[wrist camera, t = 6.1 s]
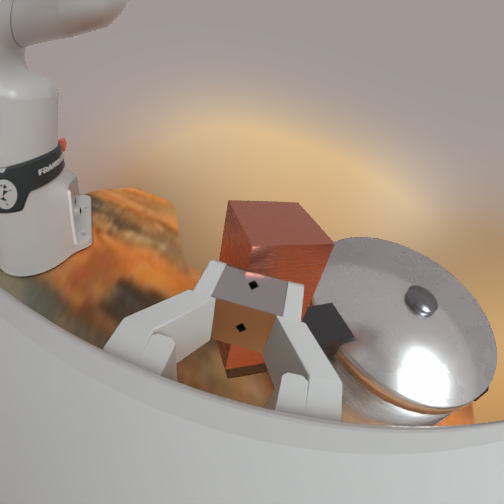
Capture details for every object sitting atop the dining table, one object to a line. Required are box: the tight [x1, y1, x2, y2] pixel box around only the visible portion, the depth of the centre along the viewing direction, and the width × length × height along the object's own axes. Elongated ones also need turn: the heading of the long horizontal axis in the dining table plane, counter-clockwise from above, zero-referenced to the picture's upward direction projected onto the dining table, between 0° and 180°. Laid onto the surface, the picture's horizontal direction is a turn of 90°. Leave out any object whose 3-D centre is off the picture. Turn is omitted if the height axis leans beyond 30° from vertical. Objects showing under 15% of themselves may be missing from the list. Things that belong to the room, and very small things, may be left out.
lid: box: [216, 200, 497, 415], centre depth 16 cm, size 25×19×8 cm
